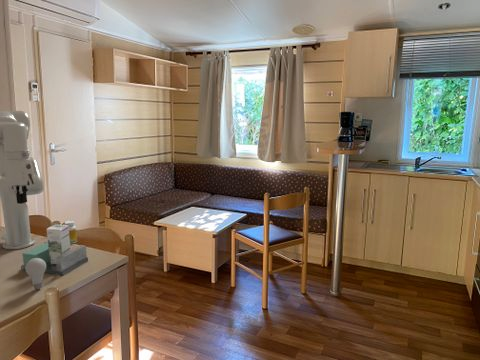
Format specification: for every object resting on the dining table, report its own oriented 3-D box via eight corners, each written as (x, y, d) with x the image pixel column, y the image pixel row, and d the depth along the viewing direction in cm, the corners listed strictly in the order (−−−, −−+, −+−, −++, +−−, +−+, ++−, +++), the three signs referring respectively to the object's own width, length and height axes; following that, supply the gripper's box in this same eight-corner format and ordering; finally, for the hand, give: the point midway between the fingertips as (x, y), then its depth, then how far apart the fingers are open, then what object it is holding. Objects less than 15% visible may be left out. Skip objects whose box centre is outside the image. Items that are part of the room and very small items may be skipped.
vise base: (21, 269, 139) (19, 253, 138) (49, 255, 152) (47, 241, 151) (63, 275, 134) (61, 258, 133) (88, 260, 147) (86, 245, 146)
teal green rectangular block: (23, 265, 138) (22, 253, 137) (51, 252, 152) (50, 240, 151) (36, 267, 137) (35, 255, 136) (63, 253, 150) (62, 242, 149)
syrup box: (72, 259, 145) (69, 224, 142) (63, 265, 139) (60, 229, 136) (58, 258, 146) (55, 223, 143) (49, 264, 140) (45, 228, 137)
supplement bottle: (78, 242, 168) (77, 222, 166) (66, 245, 164) (64, 224, 163) (75, 239, 172) (74, 219, 170) (63, 241, 169) (61, 221, 167)
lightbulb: (52, 286, 126) (49, 256, 124) (37, 294, 120) (34, 263, 118) (39, 283, 128) (35, 254, 126) (23, 291, 122) (20, 260, 120)
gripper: (41, 155, 140) (45, 201, 144) (9, 154, 144) (15, 199, 148) (24, 157, 133) (30, 206, 137) (-8, 156, 137) (-2, 203, 140)
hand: (22, 202), depth 142 cm, fingers closed
